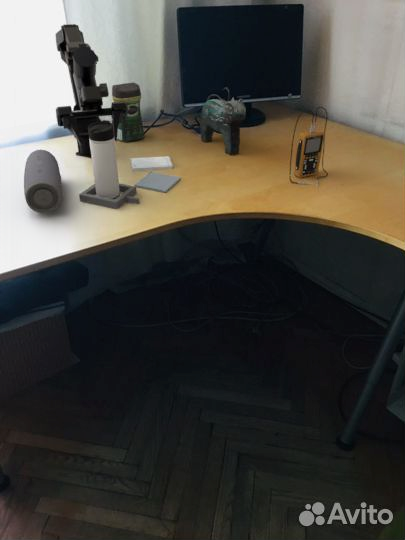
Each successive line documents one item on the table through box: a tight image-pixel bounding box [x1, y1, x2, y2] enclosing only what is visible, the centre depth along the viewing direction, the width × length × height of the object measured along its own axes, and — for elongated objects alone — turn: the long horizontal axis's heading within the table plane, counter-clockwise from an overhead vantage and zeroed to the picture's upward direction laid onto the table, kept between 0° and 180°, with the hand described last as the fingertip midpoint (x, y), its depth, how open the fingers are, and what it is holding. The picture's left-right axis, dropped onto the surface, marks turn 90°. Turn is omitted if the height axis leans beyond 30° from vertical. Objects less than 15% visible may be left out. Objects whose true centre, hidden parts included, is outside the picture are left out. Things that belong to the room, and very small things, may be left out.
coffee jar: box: [111, 82, 145, 143], centre depth 158 cm, size 10×8×19 cm
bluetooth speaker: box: [23, 149, 62, 214], centre depth 121 cm, size 23×9×10 cm, turn 17°
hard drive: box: [129, 155, 174, 172], centre depth 144 cm, size 2×8×12 cm
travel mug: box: [88, 119, 121, 200], centre depth 119 cm, size 6×7×20 cm
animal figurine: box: [199, 87, 247, 156], centre depth 151 cm, size 20×6×20 cm, turn 35°
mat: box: [133, 171, 182, 194], centre depth 133 cm, size 10×10×1 cm
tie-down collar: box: [79, 182, 141, 210], centre depth 124 cm, size 15×10×2 cm
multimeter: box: [289, 106, 328, 186], centre depth 131 cm, size 15×10×20 cm
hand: (98, 142), depth 122 cm, fingers open, 9 cm apart
